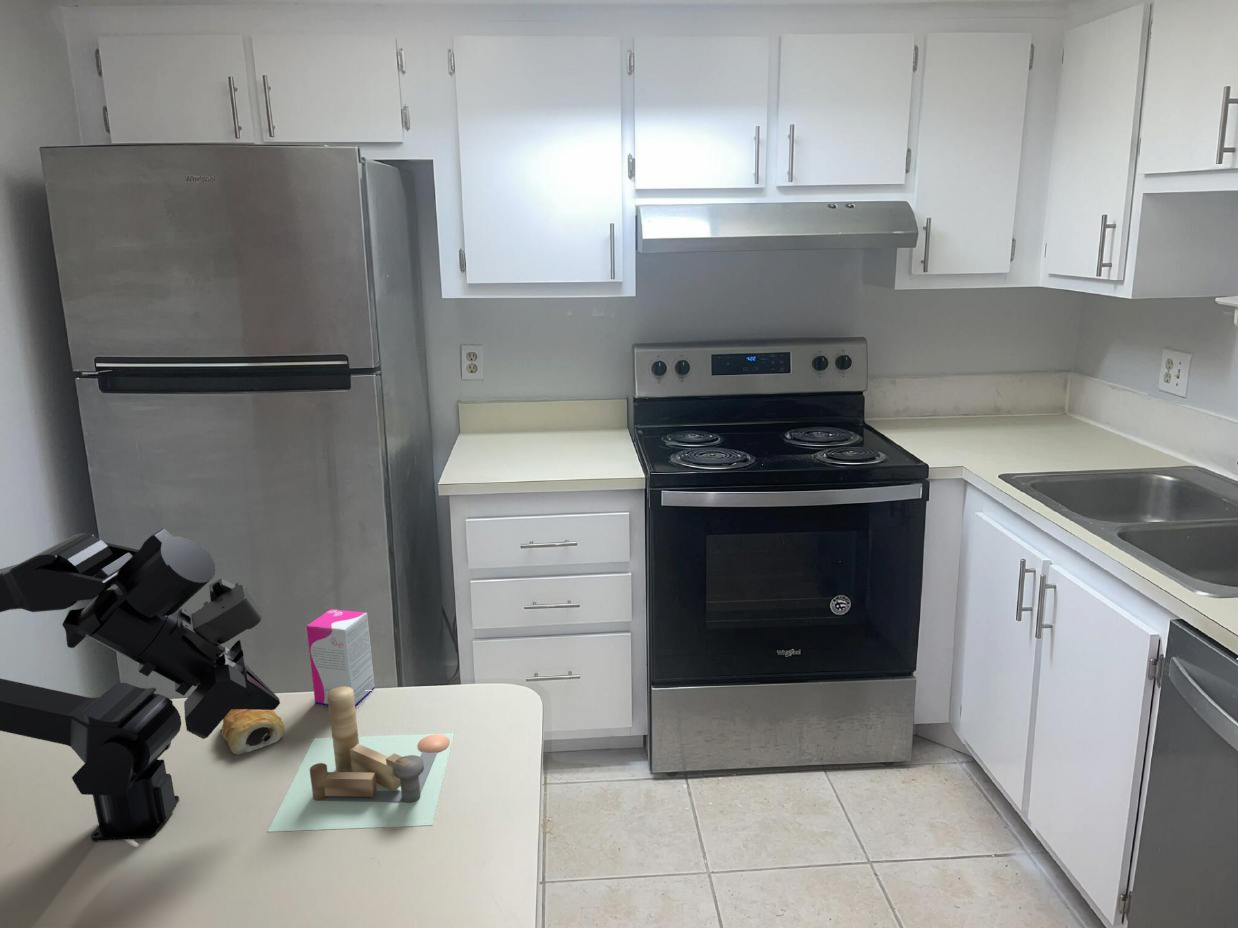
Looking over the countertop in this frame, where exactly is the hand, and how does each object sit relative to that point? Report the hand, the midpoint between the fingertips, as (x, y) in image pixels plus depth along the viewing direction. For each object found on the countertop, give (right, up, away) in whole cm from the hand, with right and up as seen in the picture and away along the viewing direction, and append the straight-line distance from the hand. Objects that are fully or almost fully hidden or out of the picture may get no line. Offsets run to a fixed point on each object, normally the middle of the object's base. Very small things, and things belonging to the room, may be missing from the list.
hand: (277, 704), depth 97 cm
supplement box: (+1, -5, +21) cm, 22 cm away
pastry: (-8, -8, +13) cm, 17 cm away
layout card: (+9, -10, +4) cm, 14 cm away
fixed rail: (+10, -10, 0) cm, 14 cm away
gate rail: (+10, -9, +3) cm, 14 cm away
